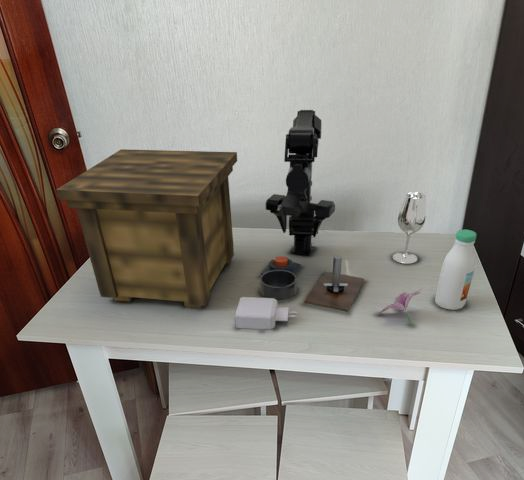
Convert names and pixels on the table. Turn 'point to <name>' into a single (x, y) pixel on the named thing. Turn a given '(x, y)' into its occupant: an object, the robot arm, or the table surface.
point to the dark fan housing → (278, 284)
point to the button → (281, 261)
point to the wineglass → (411, 222)
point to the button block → (290, 267)
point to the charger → (260, 313)
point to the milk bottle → (457, 272)
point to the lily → (401, 302)
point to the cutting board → (333, 300)
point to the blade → (336, 277)
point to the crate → (156, 222)
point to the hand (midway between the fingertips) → (299, 234)
